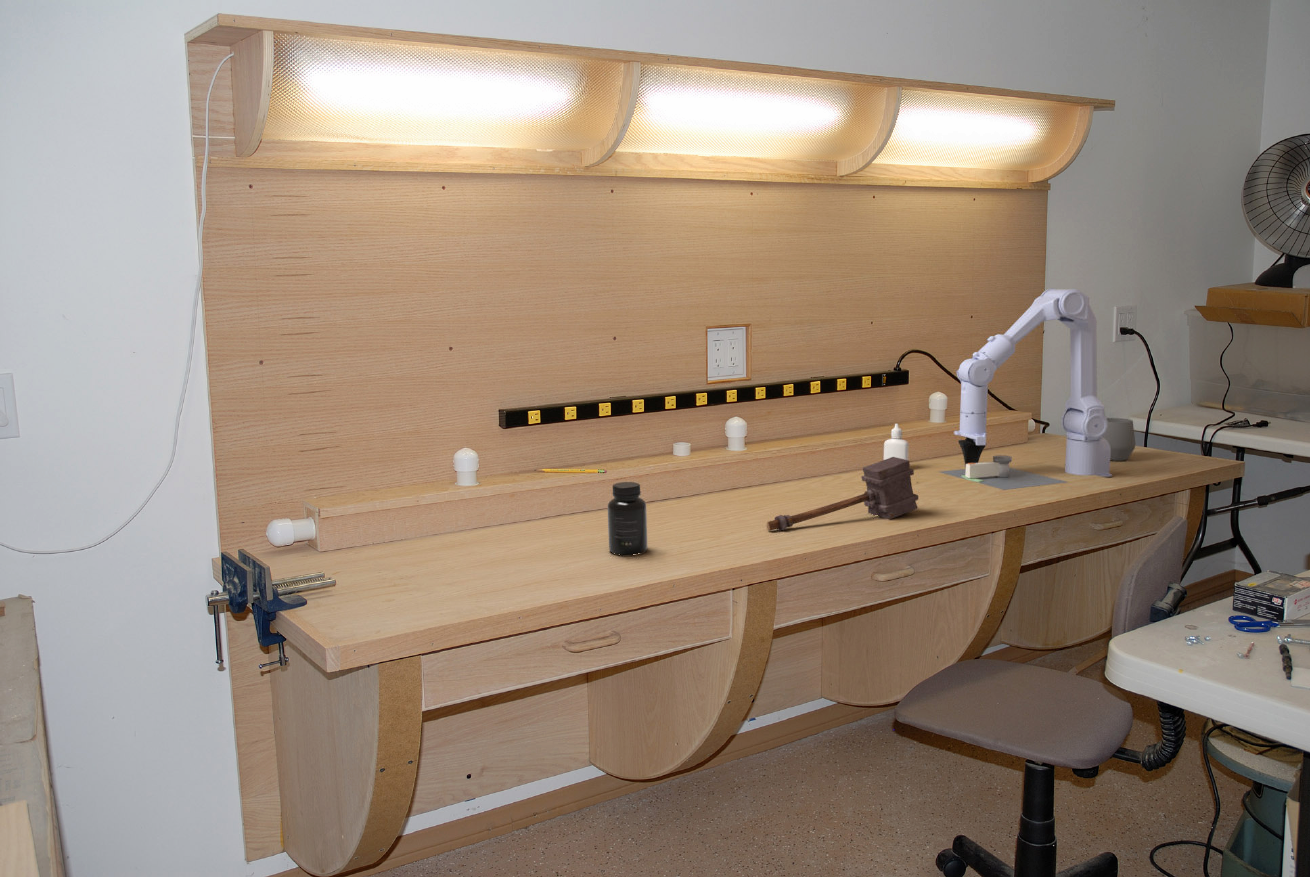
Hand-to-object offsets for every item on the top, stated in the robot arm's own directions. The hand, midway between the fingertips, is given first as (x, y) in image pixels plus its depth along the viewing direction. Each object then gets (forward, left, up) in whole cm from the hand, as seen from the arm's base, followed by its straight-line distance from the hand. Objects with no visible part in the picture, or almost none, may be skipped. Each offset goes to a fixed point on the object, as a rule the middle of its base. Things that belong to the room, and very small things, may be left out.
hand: (971, 471), depth 226 cm
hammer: (+47, +18, -3) cm, 50 cm away
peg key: (-3, +2, -1) cm, 4 cm away
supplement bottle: (+91, +20, -3) cm, 94 cm away
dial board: (-7, +3, -2) cm, 7 cm away
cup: (-50, -5, -3) cm, 50 cm away
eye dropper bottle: (+9, -15, -3) cm, 18 cm away
